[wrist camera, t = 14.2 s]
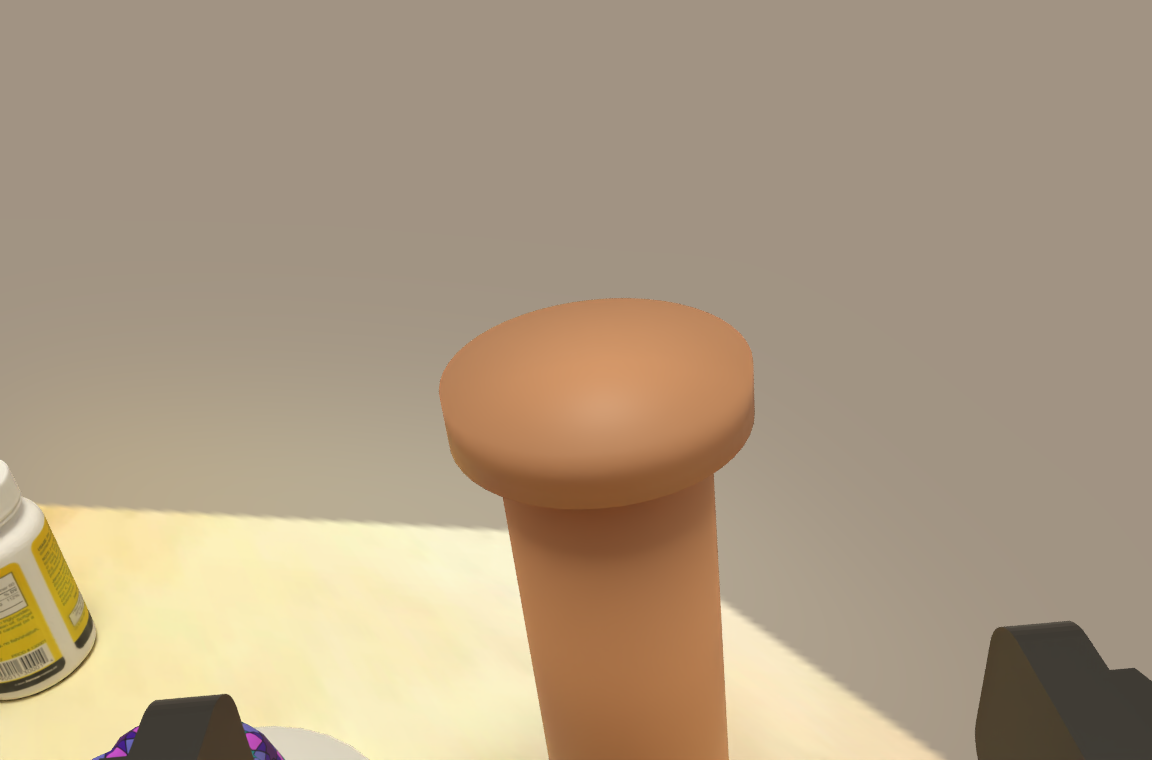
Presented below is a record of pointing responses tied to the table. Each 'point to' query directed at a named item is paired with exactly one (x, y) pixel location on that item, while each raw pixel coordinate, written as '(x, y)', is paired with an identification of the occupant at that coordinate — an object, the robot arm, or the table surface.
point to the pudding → (273, 745)
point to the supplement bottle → (36, 600)
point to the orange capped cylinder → (611, 510)
